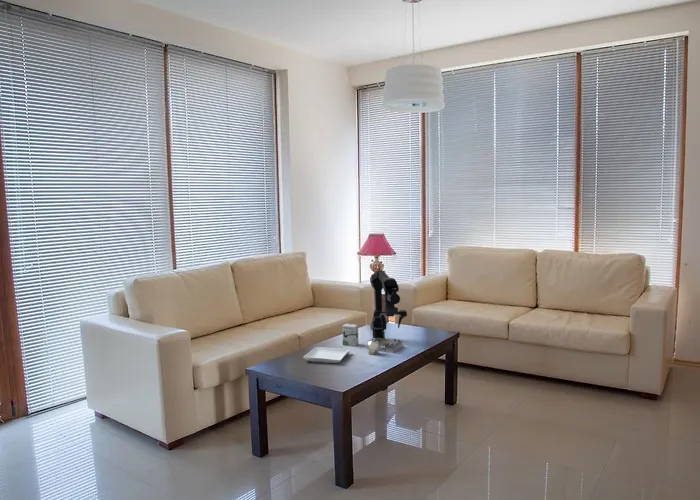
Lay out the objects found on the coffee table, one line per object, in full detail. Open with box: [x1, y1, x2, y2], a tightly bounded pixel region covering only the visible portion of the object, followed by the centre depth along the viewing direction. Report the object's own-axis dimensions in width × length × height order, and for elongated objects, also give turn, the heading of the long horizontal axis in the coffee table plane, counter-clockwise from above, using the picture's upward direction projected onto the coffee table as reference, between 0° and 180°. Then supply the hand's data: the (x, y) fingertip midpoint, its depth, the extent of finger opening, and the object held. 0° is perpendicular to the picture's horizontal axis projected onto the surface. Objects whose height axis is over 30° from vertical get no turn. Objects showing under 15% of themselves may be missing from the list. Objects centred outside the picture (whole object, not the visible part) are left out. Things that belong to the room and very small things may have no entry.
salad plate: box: [302, 346, 352, 364], centre depth 296 cm, size 21×21×3 cm
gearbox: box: [366, 338, 404, 354], centre depth 312 cm, size 16×14×5 cm
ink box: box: [341, 323, 359, 347], centre depth 321 cm, size 9×5×12 cm, turn 68°
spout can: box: [367, 337, 379, 356], centre depth 301 cm, size 6×6×8 cm
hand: (390, 328), depth 306 cm, fingers open, 9 cm apart
